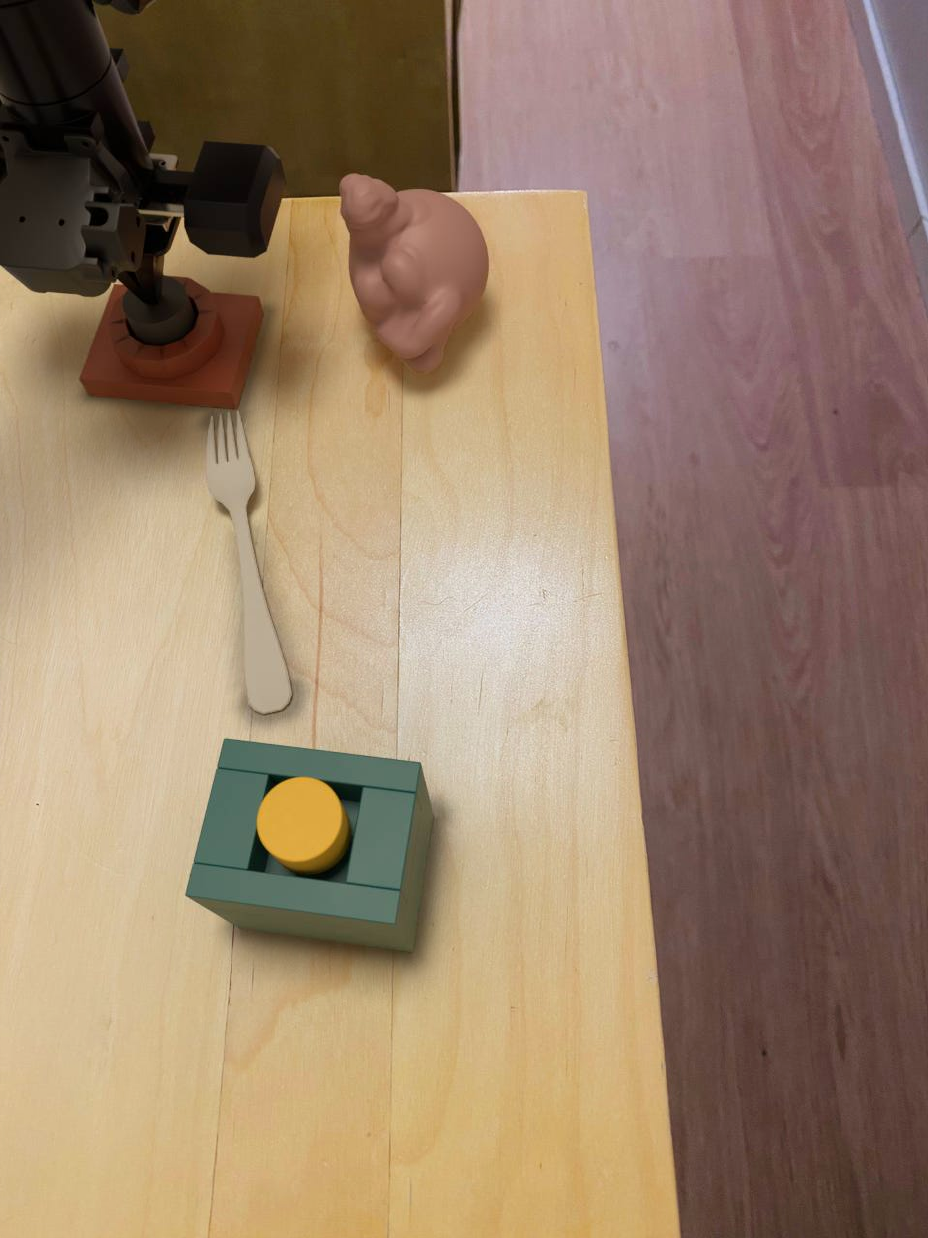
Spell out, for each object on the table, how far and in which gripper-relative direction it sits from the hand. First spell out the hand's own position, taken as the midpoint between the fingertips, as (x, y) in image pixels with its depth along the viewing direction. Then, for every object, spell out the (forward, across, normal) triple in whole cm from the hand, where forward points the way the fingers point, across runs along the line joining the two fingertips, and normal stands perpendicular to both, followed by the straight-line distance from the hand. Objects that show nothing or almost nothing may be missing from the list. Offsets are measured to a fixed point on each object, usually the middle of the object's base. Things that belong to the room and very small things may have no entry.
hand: (153, 299), depth 61 cm
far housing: (+5, 0, 0) cm, 5 cm away
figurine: (+5, +16, +4) cm, 17 cm away
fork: (+5, +8, -14) cm, 17 cm away
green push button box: (+5, +17, -32) cm, 37 cm away
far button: (+2, 0, 0) cm, 2 cm away
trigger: (-3, +17, -32) cm, 36 cm away
